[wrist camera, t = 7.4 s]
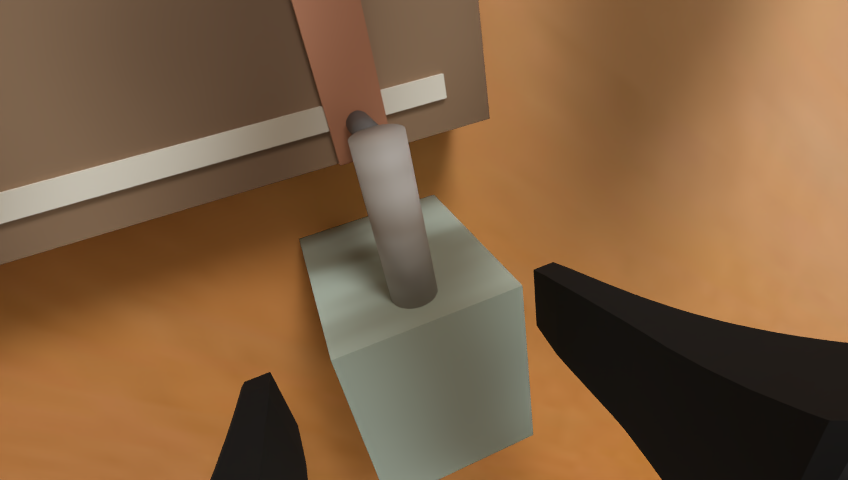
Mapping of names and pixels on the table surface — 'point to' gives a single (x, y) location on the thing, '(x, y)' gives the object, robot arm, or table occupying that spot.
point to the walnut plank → (208, 100)
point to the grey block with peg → (418, 321)
